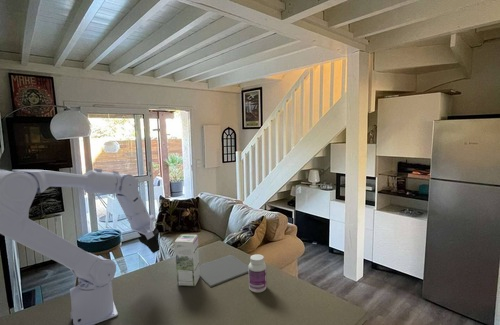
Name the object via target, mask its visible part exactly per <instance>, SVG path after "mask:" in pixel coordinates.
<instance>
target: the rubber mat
mask: <svg viewBox="0 0 500 325" xmlns="http://www.w3.org/2000/svg"><path fill="white" fill-rule="evenodd" d="M248 266H249V264H247V263H245V262H243V261H242V260H240V259H239V258H237V257H236V256H234V255H233V254H227V255H225V256H222V257H219V258H216V259H213V260H212V259H211V260H210V261H207V262H203V263H201V264H200V263H199V271H200V277H199V278H201V279H202V280H203V281H204V283H206V285H208V286H209V287H210V288H212V287H214V286H217V285H219V284H222V283H225V282H227V281H230V280H233V279H235V278H237V277H240V276H242V275H245V274H247V273H248ZM248 274H249V273H248Z"/></svg>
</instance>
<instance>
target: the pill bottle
mask: <svg viewBox="0 0 500 325" xmlns="http://www.w3.org/2000/svg"><path fill="white" fill-rule="evenodd" d="M249 261H250V262H249V264H248V288H249V290H250V291H251V292H252V293H262V292H264V291H265V290H266V289H267V264H266V263H265V256H264V255H262V254H252V255H250V260H249Z"/></svg>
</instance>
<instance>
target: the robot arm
mask: <svg viewBox="0 0 500 325" xmlns="http://www.w3.org/2000/svg"><path fill="white" fill-rule="evenodd" d="M50 187H54V188H55V187H57V188H61V187H62V188H81V189H82V190H83V191H84V192H85V193H87V194H97V195H98V194H99V195H101V194H104V195H113V194H114V195H115V198H116V199H117V201H118V203H119V205H120V207H121V210H122V211H123V213H124V215H125V217H126V219H127V221H128V222H129V224H130V228H131V230H132V231H134V232H136V233H137V234H138V235H139V237H138V238H137V239H138V240H139V242H140V243H141V244H143V245H145V246H146V247H147V248H148V249H149V251H150V252H151V253H152V254H155V253H157V252H159V251H161V250H160V249H161V248H160V244H159V243H160V242H159V235H160V231H159V230H158V228H155V229H154V230H153V229H152V228H153V220H155V219H156V217H155V215H154V214H149V212H148V209H147V208H146V205H145V203H144V201H143V198H142V197H141V195H140V194H141V193H140V191H139V190H140V189H139V179H138V178H136V177H135V176H133V175H132V174H128V173H120V172H119V171H115V170H113V171H112V172H109V171H103V169H102V168H94V169H92V170H87V171H85V173H83V174H80V173H78V174H77V173H72V172H63V171H62V172H61V171H54V170H46V169H45V170H44V169H12V171H10V170H7V169H1V168H0V235H1V236H4V237H6V238H8V239H11V240H12V241H14V242H17V243H18V244H21V245H22V246H24V247H26V248H29V249H31V250H32V251H34V252H36V253H39V254H41V255H43V256H44V257H46V258H49V259H50V260H52V261H55V262H56V263H58V264H60V265H63V266H64V267H66V268H67V269H70V271H71V272H72V274H73V276H74V277H76V278H77V281H78V285H76V286H74V287H71V288H70V289H69V294H70V296H69V297H70V303H71V305H70V306H71V311H70V319H71V320H72V322H73V325H96V324H99V323H101V322H104V321H107V320H110V319H112V318H113V319H114V318H115V317H117V316H118V315H119V314H118V310H117V308H116V307H117V306H116V305H115V302H114V297H113V296H114V294H113V284H112V282H113V279H114V277H115V275H116V272H117V264H116V262H115V261H114V260H113V259H108V258H105V257H101V256H99V255H96V254H94V253H92V252H88V251H86V250H84V249H83V248H81V247H78V245H76V244H75V243H72V242H71V241H68V240H67V239H65V238H63V237H62V236H59V235H58V234H56V232H55V233H54V232H53V231H51V230H49V228H47V227H44V226H42V225H41V224H40V223H37V222H36V221H34V220H32V219H30V217H29V214H30V208H31V206H32V204H33V202H34V199H35V197H36V195H37V193H40V194H42V193H43V192H45V191H46V190H47V189H48V188H50Z"/></svg>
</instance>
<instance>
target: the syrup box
mask: <svg viewBox="0 0 500 325" xmlns="http://www.w3.org/2000/svg"><path fill="white" fill-rule="evenodd" d="M174 252H175V270H176V286H178V287H196V285H197V283H198V281H199V280H200V278H201V277H200V271H199V265H200V258H199V256H200V255H199V236H198V234H180V235H179V236H178V237H177V238H176V239H175V240H174Z"/></svg>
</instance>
